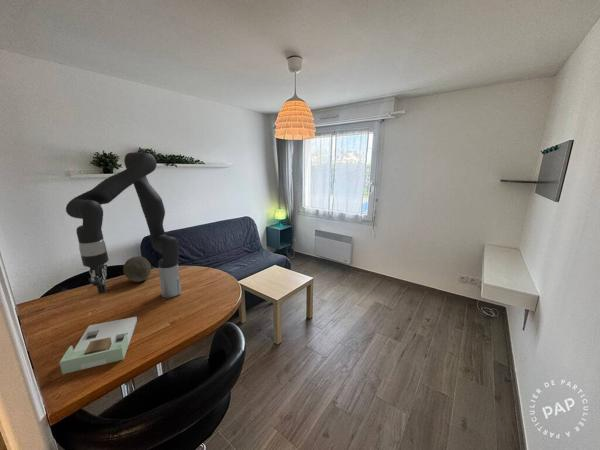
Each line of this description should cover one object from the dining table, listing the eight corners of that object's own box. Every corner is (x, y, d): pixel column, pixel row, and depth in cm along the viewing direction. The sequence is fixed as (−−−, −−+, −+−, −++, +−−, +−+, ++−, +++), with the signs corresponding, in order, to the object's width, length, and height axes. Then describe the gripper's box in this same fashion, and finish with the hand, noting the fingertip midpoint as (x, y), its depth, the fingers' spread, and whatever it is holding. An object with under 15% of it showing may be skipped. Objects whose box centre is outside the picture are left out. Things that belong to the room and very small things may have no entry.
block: (111, 343, 90) (110, 337, 90) (106, 355, 85) (105, 348, 84) (91, 348, 88) (90, 341, 87) (85, 360, 83) (84, 353, 82)
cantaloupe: (157, 275, 150) (154, 253, 146) (144, 286, 136) (140, 262, 132) (134, 275, 149) (131, 253, 145) (118, 286, 135) (114, 262, 131)
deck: (137, 320, 107) (135, 310, 106) (123, 359, 86) (121, 347, 85) (89, 329, 100) (87, 319, 99) (62, 374, 79) (59, 362, 78)
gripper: (100, 256, 84) (109, 299, 89) (111, 244, 96) (118, 282, 101) (73, 259, 81) (83, 303, 86) (87, 247, 93) (96, 286, 98)
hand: (102, 292), depth 93 cm, fingers closed
